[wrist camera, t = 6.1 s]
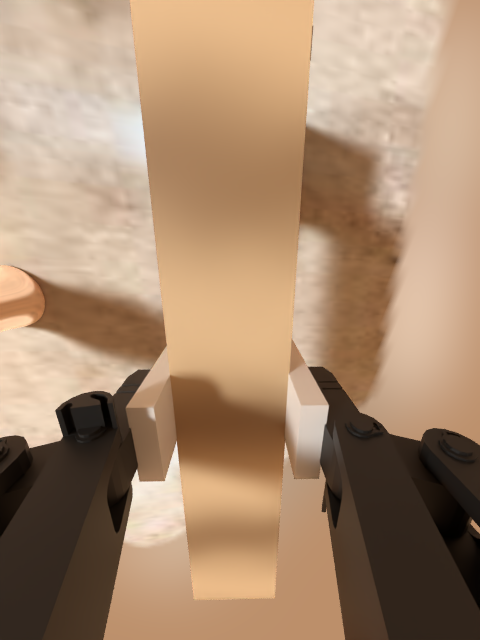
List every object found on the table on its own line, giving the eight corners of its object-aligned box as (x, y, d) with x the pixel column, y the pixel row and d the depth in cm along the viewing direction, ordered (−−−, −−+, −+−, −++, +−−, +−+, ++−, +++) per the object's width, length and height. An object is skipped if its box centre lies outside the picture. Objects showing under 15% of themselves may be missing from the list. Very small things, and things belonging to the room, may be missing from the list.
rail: (183, 118, 10) (128, -13, 5) (275, 118, 10) (314, -11, 5) (206, 490, 17) (193, 600, 12) (262, 489, 17) (274, 597, 12)
